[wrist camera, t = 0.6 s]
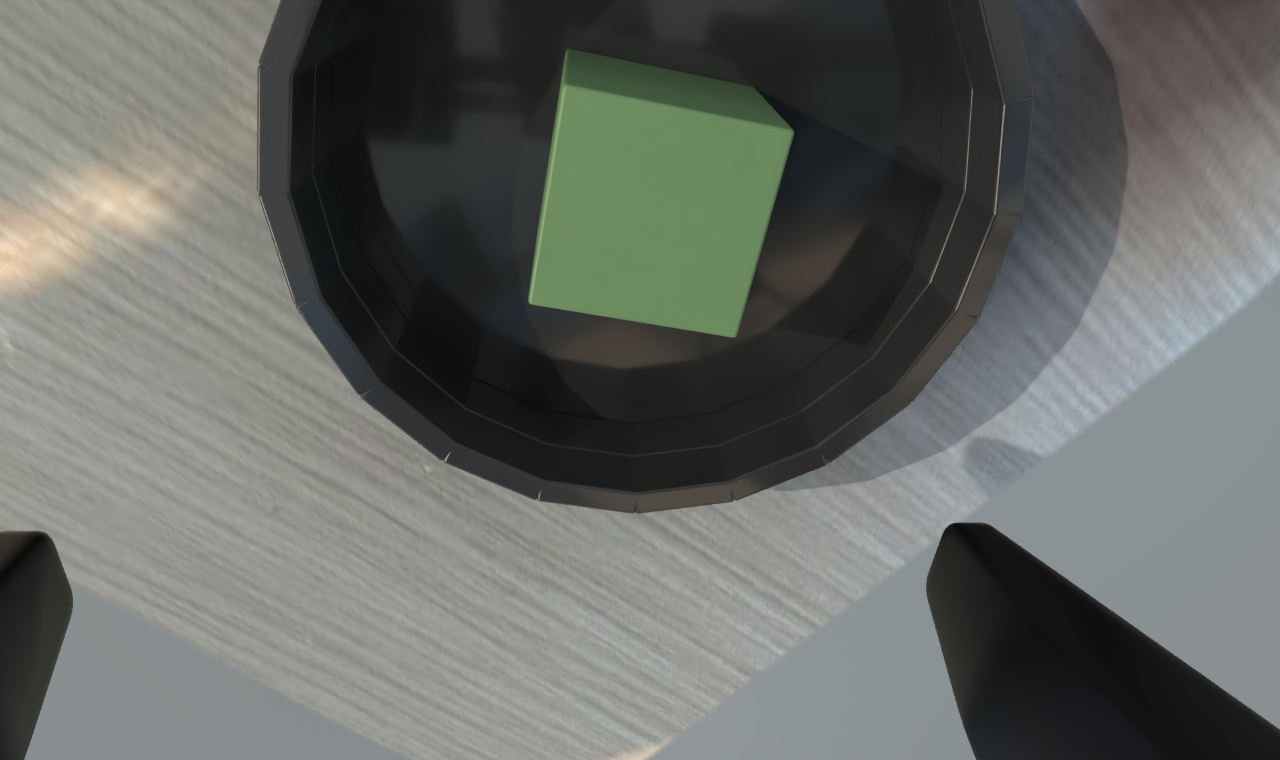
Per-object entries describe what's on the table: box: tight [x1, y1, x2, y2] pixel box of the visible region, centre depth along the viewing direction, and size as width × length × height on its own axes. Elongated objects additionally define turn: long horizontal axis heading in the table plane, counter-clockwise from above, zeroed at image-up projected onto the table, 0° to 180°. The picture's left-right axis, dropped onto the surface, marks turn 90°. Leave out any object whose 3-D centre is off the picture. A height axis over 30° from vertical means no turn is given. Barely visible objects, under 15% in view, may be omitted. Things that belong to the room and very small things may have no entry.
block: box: [528, 49, 794, 337], centre depth 17 cm, size 4×4×4 cm
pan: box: [257, 0, 1035, 514], centre depth 18 cm, size 14×14×4 cm
